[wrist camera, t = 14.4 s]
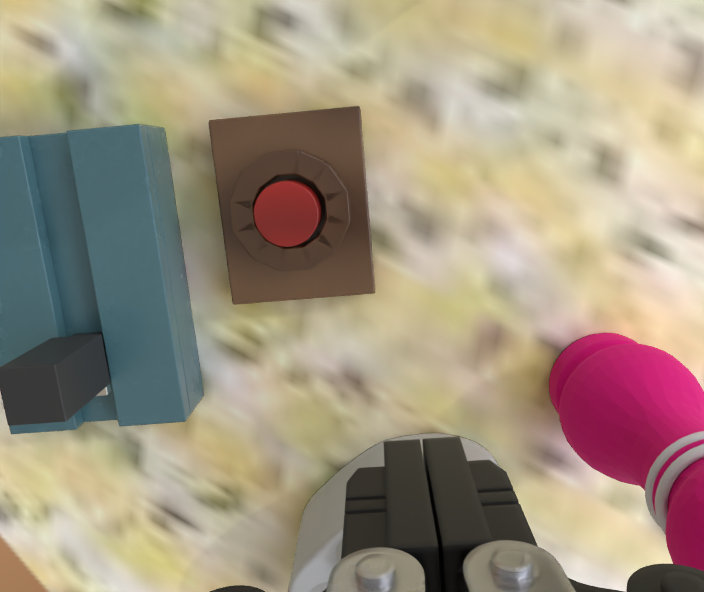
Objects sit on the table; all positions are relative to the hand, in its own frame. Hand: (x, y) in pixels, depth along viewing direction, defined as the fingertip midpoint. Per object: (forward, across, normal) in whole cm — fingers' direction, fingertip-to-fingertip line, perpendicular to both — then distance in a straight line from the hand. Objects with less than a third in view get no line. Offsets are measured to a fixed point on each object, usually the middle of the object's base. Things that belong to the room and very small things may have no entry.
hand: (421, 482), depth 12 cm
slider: (+22, +17, +3) cm, 28 cm away
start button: (+21, +5, -4) cm, 22 cm away
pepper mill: (+25, -12, +8) cm, 29 cm away
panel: (+25, +5, -4) cm, 26 cm away
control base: (+25, +17, -1) cm, 30 cm away
